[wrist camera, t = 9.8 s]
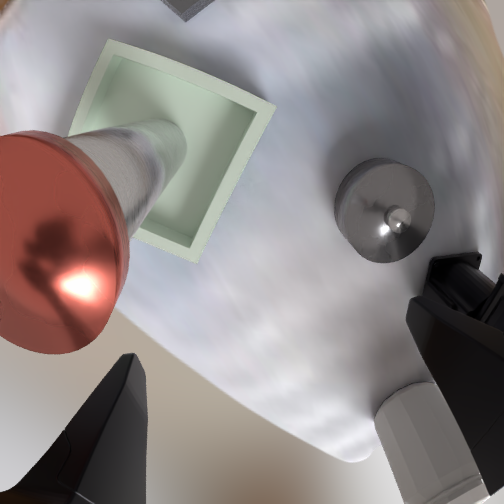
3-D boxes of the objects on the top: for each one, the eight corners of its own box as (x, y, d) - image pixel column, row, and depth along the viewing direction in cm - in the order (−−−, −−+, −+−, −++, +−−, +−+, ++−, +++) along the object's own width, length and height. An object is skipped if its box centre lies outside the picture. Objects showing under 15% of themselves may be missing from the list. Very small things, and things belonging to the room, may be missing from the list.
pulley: (421, 159, 20) (447, 169, 17) (411, 245, 24) (433, 264, 20) (335, 157, 20) (355, 167, 17) (332, 252, 23) (347, 275, 20)
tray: (270, 107, 18) (276, 106, 16) (199, 247, 22) (196, 264, 20) (121, 45, 16) (108, 38, 13) (66, 190, 19) (49, 200, 17)
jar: (376, 390, 31) (434, 525, 15) (445, 367, 32) (513, 478, 15) (365, 432, 36) (404, 543, 19) (426, 411, 36) (474, 509, 20)
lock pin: (172, 98, 17) (28, 81, 3) (206, 163, 19) (166, 313, 5) (109, 136, 17) (-81, 220, 4) (143, 197, 19) (23, 372, 6)
